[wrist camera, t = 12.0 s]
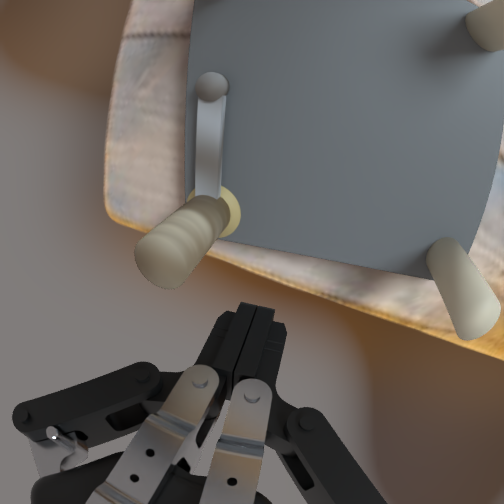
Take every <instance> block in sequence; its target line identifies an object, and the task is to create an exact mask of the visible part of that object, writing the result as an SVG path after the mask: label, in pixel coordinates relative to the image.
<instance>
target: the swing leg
mask: <svg viewBox="0 0 504 504" xmlns="http://www.w3.org/2000/svg"><path fill="white" fill-rule="evenodd" d="M229 89H230V84H229V81H228V79H227V78H226V77H225V76H224V75H222V74H219V73H215V72H207V73H205V74H203V75H201V76H200V77H199V78H198V80H197V82H196V85H195V91H196V94H197V96H198V112H197V133H196V168H195V197H193V198H192V199H191V200H189V201H188V202H187V203H185V204H184V205H183V206H181V207H180V208H179V209H178V210H176V211H175V212H174V213H172V214H171V215H170V216H169V217H167V218H166V219H165V220H164V221H162V222H161V223H160V224H159V225H157V226H156V227H155V228H154V229H152V230H151V231H150V232H149V233H148V234H146V235H145V236H144V237H143V238H142V239H141V240H139V241H138V243H137V244H136V247H135V251H134V254H135V261H136V264H137V266H138V268H139V270H140V271H141V273H142V274H143V275H144V277H145V278H146V279H147V280H149V281H150V282H151V283H153V284H154V285H156V286H158V287H161V288H164V289H175V288H178V287H180V286H181V285H182V284H183V283H184V281H185V280H186V279H187V278H188V276H189V275H190V274H191V272H192V271H193V270H194V268H195V267H196V266H197V264H198V263H199V262H200V260H201V259H202V258H203V257H204V255H205V254H206V253H207V251H208V250H209V249H210V247H211V246H212V245H213V244H214V242H215V241H216V240H217V238H218V237H219V236H220V235H221V233H222V232H223V231H224V230H225V228H226V227H227V226H228V224H229V222H230V217H231V214H230V209H229V206H228V204H227V203H226V201H225V200H224V199H223V198H222V197H221V175H222V156H223V138H224V123H225V108H226V96H227V94H228V92H229Z"/></svg>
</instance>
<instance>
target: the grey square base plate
mask: <svg viewBox="0 0 504 504" xmlns="http://www.w3.org/2000/svg"><path fill="white" fill-rule="evenodd" d="M207 72H215V73H219V74H222V75H224V76H225V77H226V78H227V79H228V81H229V84H230V89H229V92H228V94H227V96H226V108H225V123H224V138H223V156H222V175H221V197H222V198H223V199H224V200H225V201H226V203H227V204H228V206H229V209H230V214H231V217H230V222H229V224H228V226H227V227H226V228H225V230H224V231H223V232H222V233H221V235H220V236H219V237H218V238H217V239H220V240H226V241H231V242H236V243H242V244H247V245H252V246H258V247H263V248H269V249H274V250H279V251H284V252H290V253H295V254H300V255H306V256H311V257H316V258H321V259H327V260H332V261H337V262H342V263H347V264H353V265H358V266H363V267H368V268H373V269H378V270H383V271H388V272H394V273H399V274H404V275H409V276H414V277H419V278H424V279H429V280H434V281H435V283H436V285H437V287H438V290H439V292H440V294H441V296H442V298H443V301H444V303H445V305H446V308H447V310H448V313H449V315H450V317H451V320H452V322H453V325H454V328H455V330H456V333H457V335H458V337H459V338H460V339H463V340H473V339H476V338H479V337H481V336H482V335H484V334H485V333H487V332H488V331H489V330H490V329H491V328H492V327H493V326H494V324H495V323H496V321H497V320H498V318H499V315H500V311H501V306H500V303H499V301H498V299H497V298H496V296H495V294H494V293H493V291H492V289H491V288H490V286H489V285H488V283H487V282H486V280H485V279H484V277H483V276H482V274H481V273H480V271H479V270H478V268H477V267H476V265H475V264H474V263H473V261H472V260H471V259H470V257H469V256H468V253H469V251H470V248H471V246H472V243H473V241H474V238H475V235H476V233H477V230H478V227H479V225H480V222H481V219H482V216H483V213H484V210H485V207H486V203H487V200H488V197H489V193H490V189H491V186H492V182H493V178H494V174H495V169H496V165H497V160H498V155H499V150H500V144H501V138H502V132H503V124H504V0H493V1H491V2H489V3H487V4H485V5H483V6H481V7H477V6H476V5H474V4H472V3H470V2H468V1H466V0H195V1H194V9H193V17H192V26H191V36H190V46H189V59H188V73H187V90H186V115H185V203H187V202H188V201H189V200H191V199H192V198H193V197H195V168H196V133H197V112H198V96H197V94H196V91H195V85H196V82H197V80H198V78H199V77H200V76H201V75H203V74H205V73H207Z"/></svg>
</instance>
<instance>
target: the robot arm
mask: <svg viewBox="0 0 504 504" xmlns="http://www.w3.org/2000/svg"><path fill="white" fill-rule="evenodd" d="M274 313H275V309H271V308H267V307H262V306H257V305H253V304H248V303H244V302H241V303H240V305H239V307H238V309H237V312H236V313H235V312H230V311H226V312H224V313H223V314H222V315H221V316H220V317H218V319H217V321H216V323H215V325H214V328H213V329H212V331H211V333H210V336H209V337H208V339H207V341H206V343H205V345H204V347H203V349H202V351H201V353H200V355H199V357H198V359H197V361H196V363H195V364H194V365H193V366H192V367H189V368H187V369H186V370H185V371H182V372H176V373H175V372H159V370H158V368H157V367H156V366H155V365H153V364H151V363H148V362H137V363H134V364H132V365H129V366H127V367H124V368H122V369H119V370H117V371H114V372H111V373H109V374H106V375H103V376H100V377H98V378H95V379H92V380H90V381H87V382H84V383H81V384H78V385H76V386H73V387H70V388H67V389H64V390H61V391H58V392H55V393H52V394H48V395H46V396H42V397H39V398H36V399H33V400H29V401H26V402H22V403H20V404H18V405H17V406H16V407H15V409H14V411H13V415H12V420H13V423H14V426H15V427H16V429H18V430H19V431H20V432H21V433H23V434H24V435H25V436H27V437H28V439H29V442H30V446H31V450H32V454H33V457H34V460H35V463H36V466H37V470H38V473H39V476H40V479H39V480H38V481H36V482H35V484H34V485H33V488H32V490H31V504H272V503H271V502H270V501H269V500H268V499H267V498H266V497H265V496H263V495H262V494H261V493H259V492H257V491H256V489H257V485H258V480H259V475H260V470H261V465H262V459H263V453H264V444H265V445H267V446H269V447H270V448H272V449H274V450H275V451H276V453H277V454H278V456H279V458H280V460H281V461H282V463H283V465H284V466H285V468H286V470H287V472H288V473H289V475H290V476H291V478H292V480H293V481H294V483H295V485H296V486H297V488H298V489H299V491H300V492H301V494H302V496H303V497H304V499H305V500H306V502H307V503H308V504H387V503H386V501H385V500H384V499H383V497H382V496H381V495H380V493H379V492H378V491H377V489H376V488H375V487H374V485H373V484H372V483H371V481H370V480H369V479H368V477H367V476H366V474H365V473H364V472H363V470H362V469H361V468H360V466H359V465H358V463H357V462H356V461H355V460H354V458H353V457H352V455H351V454H350V452H349V451H348V449H347V448H346V447H345V445H344V444H343V442H342V441H341V440H340V438H339V437H338V436H337V434H336V432H335V431H334V430H333V428H332V427H331V425H330V424H329V422H328V421H327V419H326V418H325V417H324V416H323V414H322V413H321V412H320V411H318V410H316V409H314V408H309V407H303V408H299V409H298V408H296V407H294V406H292V405H290V404H288V403H286V402H285V401H283V400H282V399H281V398H280V397H279V395H278V394H277V391H276V387H275V384H276V379H277V375H278V371H279V367H280V362H281V358H282V354H283V349H284V345H285V340H286V336H287V331H286V328H285V325H284V323H279V322H275V321H273V318H274ZM225 399H226V400H230V404H229V407H228V411H227V415H226V418H225V422H224V426H223V430H222V434H221V436H220V439H219V440H218V442H217V445H216V448H215V451H214V455H213V458H212V462H211V466H210V469H209V472H208V475H207V477H206V476H196V475H192V474H193V472H194V471H195V468H196V467H197V465H198V463H199V460H200V457H201V453H202V449H203V448H204V446H205V444H206V442H207V439H208V438H209V436H210V434H211V432H212V430H213V428H214V426H215V424H216V422H217V420H218V418H219V416H220V412H221V409H222V406H223V404H224V401H225ZM137 430H138V432H137V433H136V435H135V436H134V438H133V439H132V441H131V442H130V444H129V446H128V447H127V448H126V450H125V451H123V452H118V453H114V454H111V455H109V456H106V457H104V458H101V459H98V460H96V461H93V462H90V463H88V464H84V465H81V466H78V467H75V466H76V465H77V464H79V463H81V462H83V461H84V460H86V459H87V458H88V448H91V447H94V446H97V445H100V444H103V443H105V442H108V441H111V440H114V439H117V438H119V437H122V436H125V435H127V434H130V433H132V432H135V431H137Z"/></svg>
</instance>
